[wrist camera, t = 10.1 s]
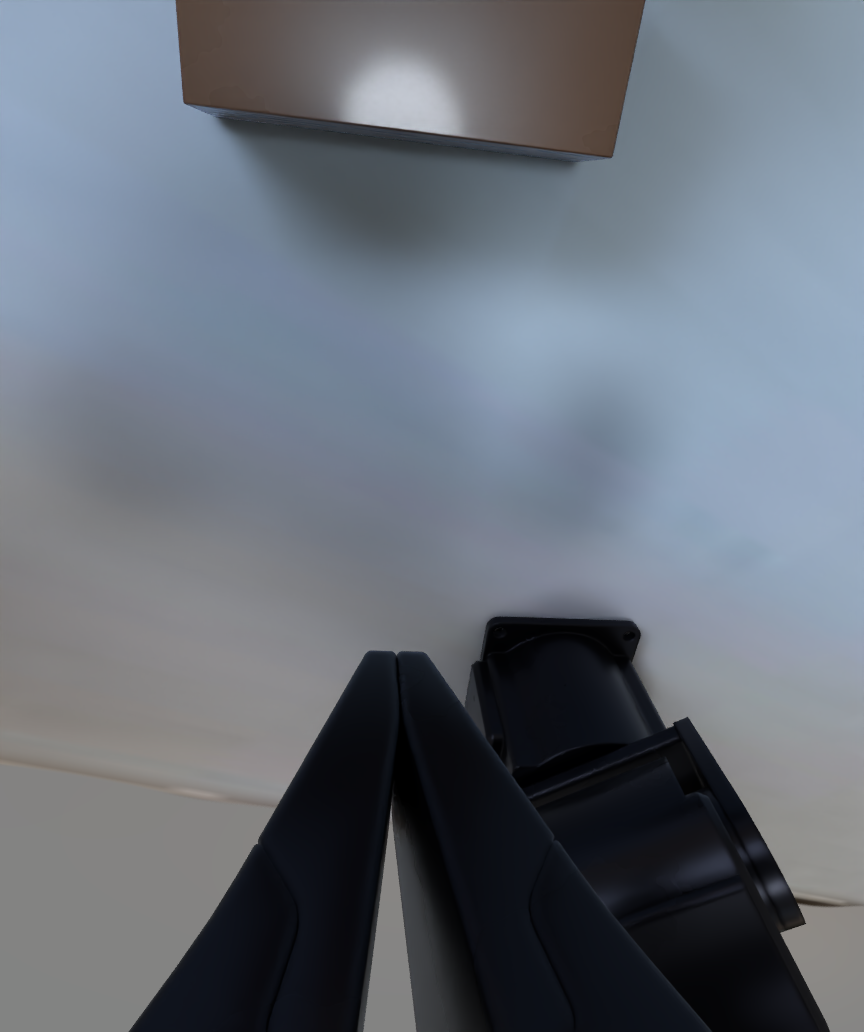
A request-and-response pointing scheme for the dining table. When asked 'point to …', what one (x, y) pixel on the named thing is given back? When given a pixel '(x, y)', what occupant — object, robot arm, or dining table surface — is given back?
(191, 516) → the dining table surface
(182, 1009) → the robot arm
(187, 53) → the walnut block
